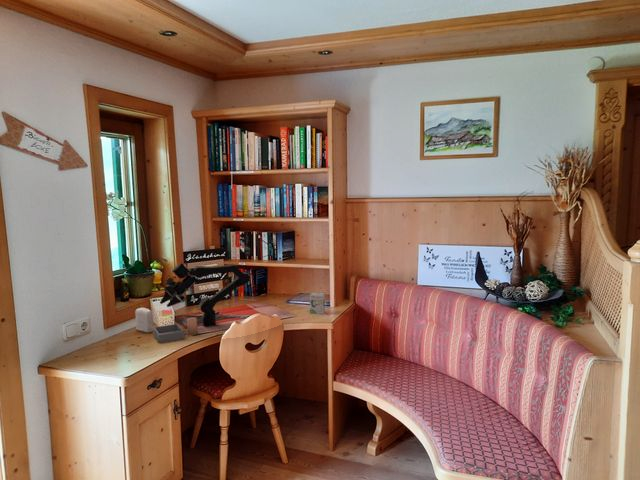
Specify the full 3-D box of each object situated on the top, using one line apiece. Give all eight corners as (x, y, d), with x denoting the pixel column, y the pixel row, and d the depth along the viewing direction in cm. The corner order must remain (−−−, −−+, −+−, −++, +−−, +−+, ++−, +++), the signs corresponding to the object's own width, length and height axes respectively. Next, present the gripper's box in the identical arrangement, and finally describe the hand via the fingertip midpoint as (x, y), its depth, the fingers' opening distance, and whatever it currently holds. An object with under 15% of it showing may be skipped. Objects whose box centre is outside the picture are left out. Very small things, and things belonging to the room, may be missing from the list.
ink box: (325, 312, 282) (325, 293, 280) (323, 314, 277) (323, 295, 275) (312, 311, 284) (311, 292, 283) (309, 313, 279) (309, 294, 278)
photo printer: (154, 330, 249) (153, 308, 248) (148, 333, 245) (146, 310, 244) (141, 327, 254) (140, 305, 253) (134, 330, 250) (133, 307, 249)
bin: (177, 330, 249) (177, 323, 248) (183, 338, 236) (183, 331, 236) (153, 334, 243) (153, 327, 242) (159, 342, 230) (158, 335, 230)
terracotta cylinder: (196, 331, 248) (195, 316, 247) (198, 333, 244) (197, 319, 243) (186, 332, 245) (185, 318, 244) (188, 335, 241) (188, 320, 240)
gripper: (182, 278, 263) (161, 298, 260) (169, 270, 245) (147, 291, 242) (194, 291, 260) (173, 311, 257) (183, 284, 242) (160, 305, 239)
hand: (163, 305), depth 249 cm, fingers open, 9 cm apart
